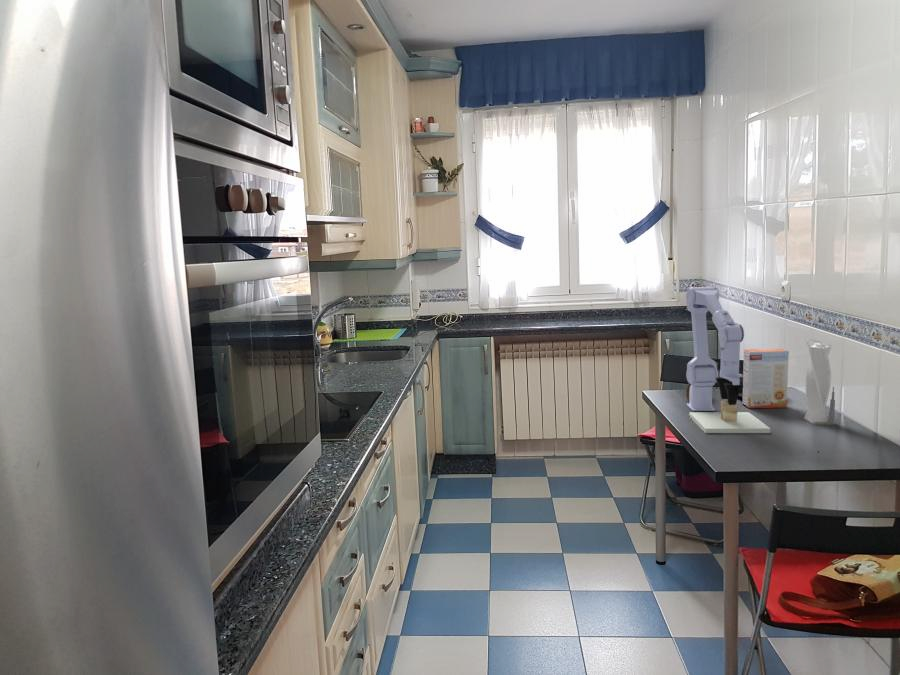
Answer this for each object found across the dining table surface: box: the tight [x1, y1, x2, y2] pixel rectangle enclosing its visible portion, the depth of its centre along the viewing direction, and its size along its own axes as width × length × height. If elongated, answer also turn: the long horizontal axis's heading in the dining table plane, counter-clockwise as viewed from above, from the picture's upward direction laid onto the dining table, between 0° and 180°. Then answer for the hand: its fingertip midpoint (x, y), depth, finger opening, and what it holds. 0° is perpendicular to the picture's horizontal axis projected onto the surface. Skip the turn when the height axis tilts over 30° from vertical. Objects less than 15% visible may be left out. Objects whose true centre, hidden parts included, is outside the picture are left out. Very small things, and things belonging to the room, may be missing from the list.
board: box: [688, 411, 771, 434], centre depth 230 cm, size 20×20×2 cm
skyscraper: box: [803, 339, 836, 426], centre depth 230 cm, size 8×8×28 cm
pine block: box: [720, 400, 739, 422], centre depth 230 cm, size 4×4×6 cm
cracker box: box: [742, 348, 790, 409], centre depth 251 cm, size 14×6×21 cm, turn 89°
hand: (728, 401), depth 229 cm, fingers open, 7 cm apart
